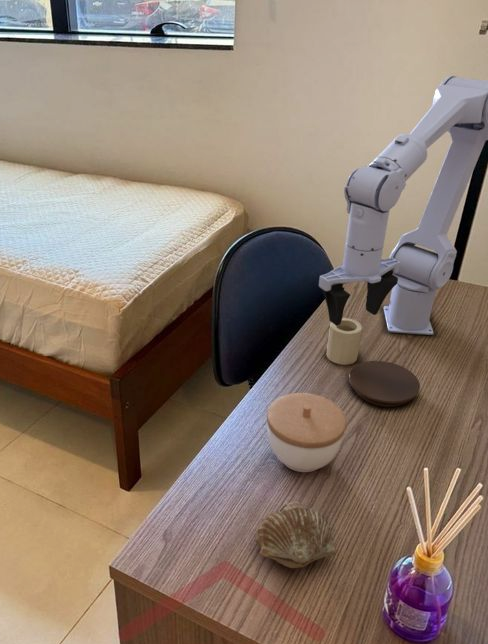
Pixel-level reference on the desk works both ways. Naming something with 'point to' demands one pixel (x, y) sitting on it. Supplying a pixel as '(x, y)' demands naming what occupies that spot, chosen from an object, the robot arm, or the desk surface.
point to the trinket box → (305, 430)
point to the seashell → (295, 536)
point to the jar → (344, 341)
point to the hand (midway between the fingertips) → (353, 317)
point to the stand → (383, 383)
